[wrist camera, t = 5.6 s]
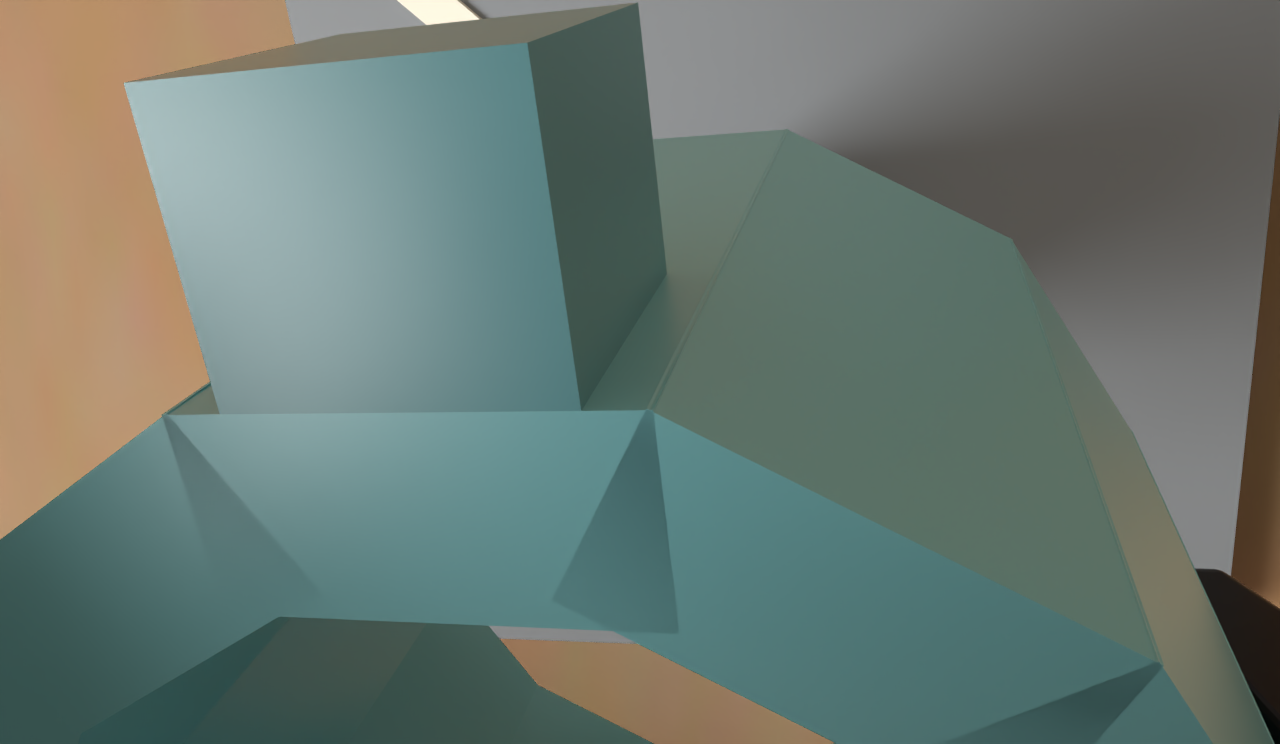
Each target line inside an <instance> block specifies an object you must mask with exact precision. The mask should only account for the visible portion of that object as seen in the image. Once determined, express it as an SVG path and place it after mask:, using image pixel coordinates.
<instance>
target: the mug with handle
mask: <svg viewBox="0 0 1280 744" xmlns="http://www.w3.org/2000/svg"><path fill="white" fill-rule="evenodd" d="M124 86H125V90H126V93H127V96H128V100H129V103H130V107H131V110H132V114H133V117H134V121H135V124H136V128H137V131H138V134H139V138H140V141H141V145H142V148H143V152H144V155H145V159H146V162H147V165H148V169H149V172H150V176H151V179H152V183H153V186H154V190H155V193H156V197H157V200H158V203H159V207H160V210H161V214H162V217H163V221H164V224H165V228H166V231H167V234H168V238H169V241H170V245H171V248H172V252H173V255H174V259H175V262H176V266H177V269H178V272H179V276H180V279H181V283H182V286H183V290H184V293H185V297H186V300H187V303H188V307H189V310H190V314H191V317H192V321H193V324H194V328H195V331H196V334H197V338H198V341H199V345H200V348H201V352H202V355H203V359H204V362H205V366H206V369H207V372H208V376H209V379H210V382H209V383H207V384H206V385H204V386H203V387H201V388H200V389H199V390H197V391H196V392H194V393H193V394H191V395H190V396H188V397H187V398H185V399H184V400H183V401H181V402H180V403H178V404H177V405H175V406H174V407H172V408H171V409H170V410H168V411H167V412H165V413H164V414H162V417H161V418H160V419H159V420H157V421H156V422H155V423H153V424H152V425H151V426H149V427H148V428H147V429H145V430H144V431H143V432H141V433H140V434H139V435H137V436H136V437H135V438H134V439H132V440H131V441H130V442H128V443H127V444H126V445H124V446H123V447H122V448H120V449H119V450H118V451H116V452H115V453H114V454H112V455H111V456H110V457H109V458H107V459H106V460H105V461H103V462H102V463H101V464H99V465H98V466H97V467H95V468H94V469H93V470H91V471H90V472H89V473H87V474H86V475H85V476H84V477H82V478H81V479H80V480H78V481H77V482H76V483H74V484H73V485H72V486H70V487H69V488H68V489H66V490H65V491H64V492H62V493H61V494H60V495H59V496H57V497H56V498H55V499H53V500H52V501H51V502H49V503H48V504H47V505H45V506H44V507H43V508H41V509H40V510H39V511H37V512H36V513H35V514H34V515H32V516H31V517H30V518H28V519H27V520H26V521H24V522H23V523H22V524H20V525H19V526H18V527H16V528H15V529H14V530H12V531H11V532H10V533H9V534H7V535H6V536H5V537H3V538H2V539H1V540H0V744H654V743H652V742H650V741H648V740H646V739H644V738H642V737H640V736H638V735H636V734H634V733H632V732H630V731H628V730H626V729H624V728H622V727H620V726H618V725H616V724H614V723H612V722H610V721H608V720H606V719H604V718H602V717H600V716H598V715H596V714H594V713H592V712H590V711H588V710H586V709H584V708H582V707H580V706H578V705H576V704H574V703H572V702H570V701H568V700H566V699H564V698H562V697H560V696H558V695H556V694H554V693H552V692H550V691H548V690H546V689H544V688H542V687H540V686H538V685H537V684H536V682H535V681H534V680H533V679H532V678H531V676H530V675H529V674H528V673H527V671H526V670H525V669H524V668H523V667H522V665H521V664H520V663H519V662H518V661H517V659H516V658H515V657H514V656H513V655H512V653H511V652H510V651H509V650H508V649H507V647H506V646H505V645H504V644H503V643H502V641H501V640H500V639H499V638H498V636H497V635H496V634H495V633H494V632H493V630H492V629H491V628H490V627H489V626H508V627H531V628H555V629H578V630H601V631H613V632H615V633H617V634H619V635H621V636H623V637H625V638H627V639H629V640H631V641H633V642H635V643H637V644H639V645H641V646H643V647H645V648H647V649H649V650H651V651H653V652H655V653H657V654H659V655H661V656H663V657H665V658H667V659H669V660H671V661H673V662H675V663H677V664H679V665H681V666H683V667H685V668H687V669H689V670H691V671H693V672H695V673H697V674H699V675H701V676H703V677H705V678H707V679H709V680H711V681H713V682H715V683H717V684H719V685H721V686H723V687H725V688H727V689H729V690H731V691H733V692H735V693H737V694H739V695H741V696H743V697H745V698H747V699H749V700H751V701H753V702H755V703H757V704H759V705H761V706H763V707H765V708H767V709H769V710H771V711H773V712H775V713H777V714H779V715H781V716H783V717H785V718H787V719H789V720H791V721H793V722H795V723H797V724H799V725H801V726H803V727H805V728H807V729H809V730H811V731H813V732H815V733H817V734H819V735H821V736H823V737H825V738H827V739H829V740H831V741H832V742H834V743H833V744H1275V743H1274V741H1273V739H1272V737H1271V735H1270V732H1269V730H1268V728H1267V726H1266V724H1265V721H1264V719H1263V717H1262V715H1261V713H1260V710H1259V708H1258V706H1257V704H1256V702H1255V699H1254V697H1253V695H1252V693H1251V691H1250V688H1249V686H1248V684H1247V682H1246V680H1245V677H1244V675H1243V673H1242V671H1241V669H1240V666H1239V664H1238V662H1237V660H1236V658H1235V655H1234V653H1233V651H1232V649H1231V647H1230V644H1229V642H1228V640H1227V638H1226V636H1225V633H1224V631H1223V629H1222V627H1221V625H1220V622H1219V620H1218V618H1217V616H1216V614H1215V611H1214V609H1213V607H1212V605H1211V603H1210V600H1209V598H1208V596H1207V594H1206V592H1205V589H1204V587H1203V585H1202V583H1201V581H1200V579H1199V576H1198V574H1197V572H1196V570H1195V568H1194V565H1193V563H1192V561H1191V559H1190V557H1189V554H1188V552H1187V550H1186V548H1185V546H1184V543H1183V541H1182V539H1181V537H1180V535H1179V532H1178V530H1177V528H1176V526H1175V524H1174V521H1173V519H1172V517H1171V515H1170V513H1169V510H1168V508H1167V506H1166V504H1165V502H1164V499H1163V497H1162V495H1161V493H1160V491H1159V488H1158V486H1157V484H1156V482H1155V480H1154V477H1153V475H1152V473H1151V471H1150V469H1149V466H1148V464H1147V462H1146V460H1145V458H1144V455H1143V453H1142V451H1141V449H1140V447H1139V444H1138V442H1137V440H1136V438H1135V436H1134V433H1133V431H1132V430H1131V429H1130V428H1129V426H1128V425H1127V423H1126V421H1125V420H1124V418H1123V417H1122V415H1121V413H1120V412H1119V410H1118V409H1117V407H1116V405H1115V404H1114V402H1113V401H1112V399H1111V398H1110V396H1109V394H1108V393H1107V391H1106V390H1105V388H1104V386H1103V385H1102V383H1101V382H1100V380H1099V378H1098V377H1097V375H1096V374H1095V372H1094V370H1093V369H1092V367H1091V366H1090V364H1089V362H1088V361H1087V359H1086V358H1085V356H1084V354H1083V353H1082V351H1081V350H1080V348H1079V346H1078V345H1077V343H1076V342H1075V340H1074V338H1073V337H1072V335H1071V334H1070V332H1069V330H1068V329H1067V327H1066V326H1065V324H1064V322H1063V321H1062V319H1061V318H1060V316H1059V314H1058V313H1057V311H1056V310H1055V308H1054V306H1053V305H1052V303H1051V302H1050V300H1049V299H1048V297H1047V295H1046V294H1045V292H1044V291H1043V289H1042V287H1041V286H1040V284H1039V283H1038V281H1037V279H1036V278H1035V276H1034V275H1033V273H1032V271H1031V270H1030V268H1029V267H1028V265H1027V263H1026V262H1025V260H1024V259H1023V257H1022V255H1021V254H1020V252H1019V251H1018V249H1017V247H1016V246H1015V244H1014V242H1013V239H1011V238H1009V237H1007V236H1004V235H1002V234H1000V233H998V232H996V231H994V230H992V229H990V228H988V227H986V226H984V225H982V224H980V223H978V222H976V221H974V220H972V219H970V218H968V217H966V216H964V215H961V214H959V213H957V212H955V211H953V210H951V209H949V208H947V207H945V206H943V205H941V204H939V203H937V202H935V201H933V200H931V199H929V198H927V197H925V196H923V195H921V194H918V193H916V192H914V191H912V190H910V189H908V188H906V187H904V186H902V185H900V184H898V183H896V182H894V181H892V180H890V179H888V178H886V177H884V176H882V175H880V174H878V173H875V172H873V171H871V170H869V169H867V168H865V167H863V166H861V165H859V164H857V163H855V162H853V161H851V160H849V159H847V158H845V157H843V156H841V155H839V154H837V153H835V152H833V151H830V150H828V149H826V148H824V147H822V146H820V145H818V144H816V143H814V142H812V141H810V140H808V139H806V138H804V137H802V136H800V135H798V134H796V133H794V132H792V131H790V130H789V129H785V130H771V131H758V132H744V133H731V134H717V135H704V136H690V137H677V138H663V139H653V137H652V128H651V118H650V109H649V100H648V90H647V81H646V71H645V62H644V53H643V43H642V34H641V25H640V15H639V6H638V2H637V3H628V4H619V5H609V6H600V7H591V8H581V9H572V10H562V11H553V12H544V13H534V14H525V15H516V16H506V17H497V18H487V19H478V20H469V21H459V22H450V23H440V24H431V25H422V26H412V27H403V28H394V29H384V30H375V31H365V32H356V33H347V34H339V35H334V36H330V37H325V38H321V39H316V40H312V41H307V42H303V43H299V44H294V45H290V46H285V47H281V48H276V49H272V50H267V51H263V52H259V53H254V54H250V55H245V56H241V57H236V58H232V59H227V60H223V61H219V62H214V63H210V64H205V65H201V66H196V67H192V68H187V69H183V70H179V71H174V72H170V73H165V74H161V75H156V76H152V77H147V78H143V79H139V80H134V81H130V82H125V83H124Z"/></svg>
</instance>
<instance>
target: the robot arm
mask: <svg viewBox="0 0 1280 744" xmlns="http://www.w3.org/2000/svg"><path fill="white" fill-rule="evenodd" d="M1195 570H1196V572H1197V574H1198V576H1199V579H1200V581H1201V583H1202V585H1203V587H1204V589H1205V592H1206V594H1207V596H1208V598H1209V600H1210V603H1211V605H1212V607H1213V609H1214V611H1215V614H1216V616H1217V618H1218V620H1219V622H1220V625H1221V627H1222V629H1223V631H1224V633H1225V636H1226V638H1227V640H1228V642H1229V644H1230V647H1231V649H1232V651H1233V653H1234V655H1235V658H1236V660H1237V662H1238V664H1239V666H1240V669H1241V671H1242V673H1243V675H1244V677H1245V680H1246V682H1247V684H1248V686H1249V688H1250V691H1251V693H1252V695H1253V697H1254V699H1255V702H1256V704H1257V706H1258V708H1259V710H1260V713H1261V715H1262V717H1263V719H1264V721H1265V724H1266V726H1267V728H1268V730H1269V732H1270V735H1271V737H1272V739H1273V741H1274V743H1275V744H1280V608H1278V607H1277V606H1275V605H1274V604H1272V603H1271V602H1269V601H1268V600H1266V599H1265V598H1263V597H1262V596H1260V595H1259V594H1257V593H1256V592H1254V591H1253V590H1251V589H1250V588H1248V587H1247V586H1245V585H1244V584H1242V583H1240V582H1239V581H1237V580H1236V579H1234V578H1233V577H1231V576H1230V575H1228V574H1227V573H1225V572H1223V571H1221V570H1217V569H1204V568H1195Z"/></svg>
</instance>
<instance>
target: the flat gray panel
mask: <svg viewBox="0 0 1280 744" xmlns="http://www.w3.org/2000/svg"><path fill="white" fill-rule="evenodd" d="M285 2H286V7H287V11H288V15H289V19H290V24H291V28H292V32H293V37H294V41H295V44H299V43H303V42H307V41H312V40H316V39H321V38H325V37H330V36H334V35H339V34H347V33H356V32H365V31H375V30H384V29H394V28H403V27H412V26H422V25H431V24H440V23H450V22H459V21H469V20H478V19H487V18H497V17H506V16H516V15H525V14H534V13H544V12H553V11H562V10H572V9H581V8H591V7H600V6H609V5H619V4H628V3H637V2H638V6H639V15H640V25H641V34H642V43H643V53H644V62H645V71H646V81H647V90H648V100H649V109H650V118H651V128H652V137H653V139H663V138H677V137H690V136H704V135H717V134H731V133H744V132H758V131H771V130H785V129H789V130H790V131H792V132H794V133H796V134H798V135H800V136H802V137H804V138H806V139H808V140H810V141H812V142H814V143H816V144H818V145H820V146H822V147H824V148H826V149H828V150H830V151H833V152H835V153H837V154H839V155H841V156H843V157H845V158H847V159H849V160H851V161H853V162H855V163H857V164H859V165H861V166H863V167H865V168H867V169H869V170H871V171H873V172H875V173H878V174H880V175H882V176H884V177H886V178H888V179H890V180H892V181H894V182H896V183H898V184H900V185H902V186H904V187H906V188H908V189H910V190H912V191H914V192H916V193H918V194H921V195H923V196H925V197H927V198H929V199H931V200H933V201H935V202H937V203H939V204H941V205H943V206H945V207H947V208H949V209H951V210H953V211H955V212H957V213H959V214H961V215H964V216H966V217H968V218H970V219H972V220H974V221H976V222H978V223H980V224H982V225H984V226H986V227H988V228H990V229H992V230H994V231H996V232H998V233H1000V234H1002V235H1004V236H1007V237H1009V238H1011V239H1013V242H1014V244H1015V246H1016V247H1017V249H1018V251H1019V252H1020V254H1021V255H1022V257H1023V259H1024V260H1025V262H1026V263H1027V265H1028V267H1029V268H1030V270H1031V271H1032V273H1033V275H1034V276H1035V278H1036V279H1037V281H1038V283H1039V284H1040V286H1041V287H1042V289H1043V291H1044V292H1045V294H1046V295H1047V297H1048V299H1049V300H1050V302H1051V303H1052V305H1053V306H1054V308H1055V310H1056V311H1057V313H1058V314H1059V316H1060V318H1061V319H1062V321H1063V322H1064V324H1065V326H1066V327H1067V329H1068V330H1069V332H1070V334H1071V335H1072V337H1073V338H1074V340H1075V342H1076V343H1077V345H1078V346H1079V348H1080V350H1081V351H1082V353H1083V354H1084V356H1085V358H1086V359H1087V361H1088V362H1089V364H1090V366H1091V367H1092V369H1093V370H1094V372H1095V374H1096V375H1097V377H1098V378H1099V380H1100V382H1101V383H1102V385H1103V386H1104V388H1105V390H1106V391H1107V393H1108V394H1109V396H1110V398H1111V399H1112V401H1113V402H1114V404H1115V405H1116V407H1117V409H1118V410H1119V412H1120V413H1121V415H1122V417H1123V418H1124V420H1125V421H1126V423H1127V425H1128V426H1129V428H1130V429H1131V430H1132V431H1133V433H1134V436H1135V438H1136V440H1137V442H1138V444H1139V447H1140V449H1141V451H1142V453H1143V455H1144V458H1145V460H1146V462H1147V464H1148V466H1149V469H1150V471H1151V473H1152V475H1153V477H1154V480H1155V482H1156V484H1157V486H1158V488H1159V491H1160V493H1161V495H1162V497H1163V499H1164V502H1165V504H1166V506H1167V508H1168V510H1169V513H1170V515H1171V517H1172V519H1173V521H1174V524H1175V526H1176V528H1177V530H1178V532H1179V535H1180V537H1181V539H1182V541H1183V543H1184V546H1185V548H1186V550H1187V552H1188V554H1189V557H1190V559H1191V561H1192V563H1193V565H1194V568H1204V569H1217V570H1221V571H1223V572H1225V573H1227V574H1228V575H1230V576H1231V570H1232V560H1233V551H1234V541H1235V532H1236V522H1237V513H1238V503H1239V494H1240V485H1241V475H1242V466H1243V456H1244V447H1245V437H1246V428H1247V418H1248V409H1249V400H1250V390H1251V381H1252V371H1253V362H1254V352H1255V343H1256V333H1257V324H1258V315H1259V305H1260V296H1261V286H1262V277H1263V267H1264V258H1265V248H1266V239H1267V230H1268V220H1269V211H1270V201H1271V192H1272V182H1273V173H1274V163H1275V154H1276V145H1277V135H1278V126H1279V116H1280V0H285ZM489 627H490V628H491V629H492V630H493V632H494V633H495V634H496V635H497V636H498V638H500V639H526V640H552V641H578V642H604V643H630V644H637V643H635V642H633V641H631V640H629V639H627V638H625V637H623V636H621V635H619V634H617V633H615V632H613V631H601V630H578V629H555V628H531V627H508V626H489Z"/></svg>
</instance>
